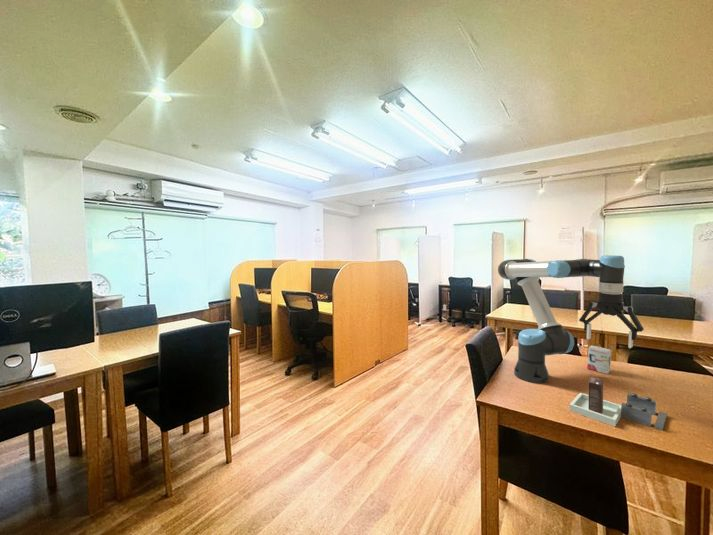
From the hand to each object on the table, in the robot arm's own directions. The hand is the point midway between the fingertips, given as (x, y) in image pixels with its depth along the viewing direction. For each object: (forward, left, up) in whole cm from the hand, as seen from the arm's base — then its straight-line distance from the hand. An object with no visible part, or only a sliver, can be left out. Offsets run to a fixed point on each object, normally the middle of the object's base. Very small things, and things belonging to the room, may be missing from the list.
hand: (608, 342), depth 121 cm
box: (-1, -13, -25) cm, 28 cm away
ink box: (-10, +34, -25) cm, 43 cm away
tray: (-1, -13, -25) cm, 29 cm away
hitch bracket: (+12, -4, -25) cm, 28 cm away
